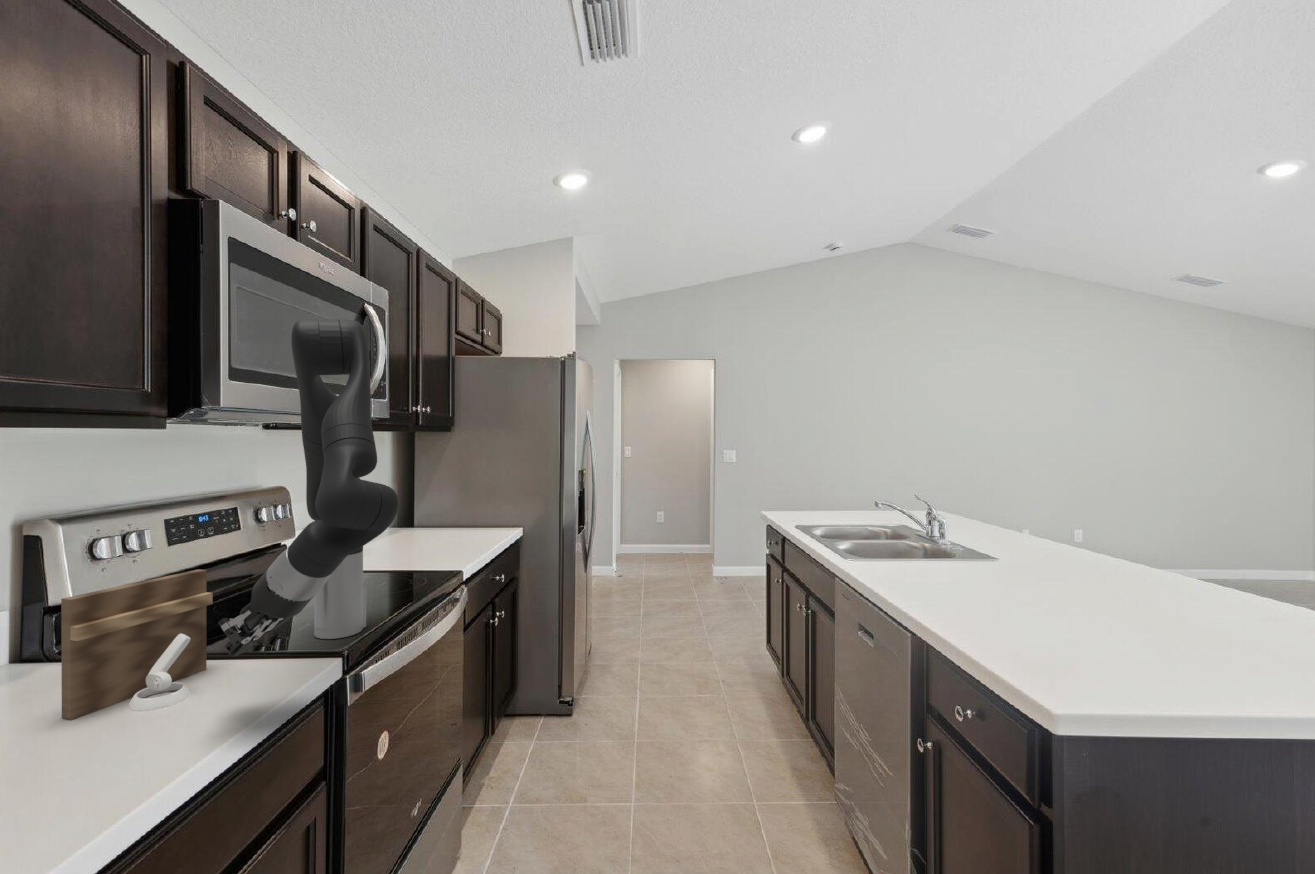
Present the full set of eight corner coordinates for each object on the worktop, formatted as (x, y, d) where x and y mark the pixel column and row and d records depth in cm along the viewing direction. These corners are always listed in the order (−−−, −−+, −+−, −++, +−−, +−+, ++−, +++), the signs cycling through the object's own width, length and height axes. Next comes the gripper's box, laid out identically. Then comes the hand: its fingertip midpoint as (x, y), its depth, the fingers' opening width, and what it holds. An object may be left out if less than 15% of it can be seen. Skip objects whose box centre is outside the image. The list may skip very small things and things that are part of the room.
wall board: (198, 667, 109) (198, 569, 109) (212, 670, 108) (212, 570, 108) (61, 718, 90) (61, 598, 89) (77, 721, 89) (77, 600, 88)
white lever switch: (232, 654, 102) (201, 643, 96) (181, 726, 96) (144, 719, 90) (202, 639, 104) (170, 628, 99) (150, 709, 99) (112, 701, 93)
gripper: (317, 550, 95) (259, 618, 99) (237, 569, 83) (174, 647, 86) (344, 586, 94) (284, 654, 98) (267, 611, 81) (201, 688, 85)
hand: (232, 650), depth 92 cm, fingers closed
